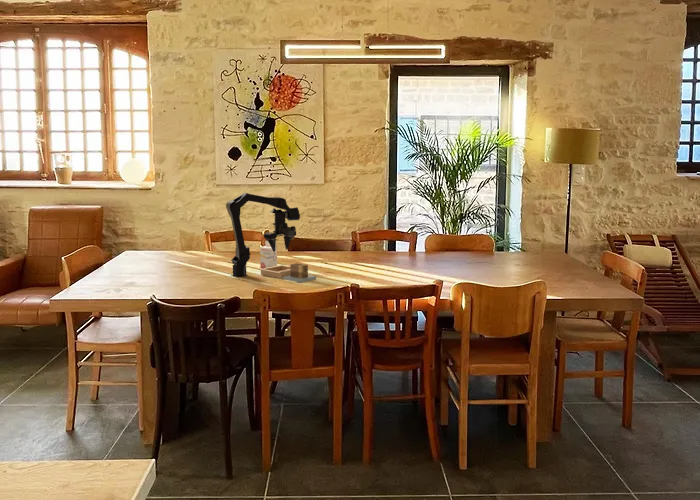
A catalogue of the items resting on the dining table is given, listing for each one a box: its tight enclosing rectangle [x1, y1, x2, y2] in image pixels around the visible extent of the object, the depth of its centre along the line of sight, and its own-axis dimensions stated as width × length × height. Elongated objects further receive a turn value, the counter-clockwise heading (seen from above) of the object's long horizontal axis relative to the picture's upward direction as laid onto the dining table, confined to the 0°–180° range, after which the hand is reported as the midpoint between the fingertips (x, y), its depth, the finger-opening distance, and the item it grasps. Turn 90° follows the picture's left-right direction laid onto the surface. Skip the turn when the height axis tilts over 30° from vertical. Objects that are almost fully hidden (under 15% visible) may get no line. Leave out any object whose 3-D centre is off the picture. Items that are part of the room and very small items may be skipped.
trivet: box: [282, 274, 317, 284], centre depth 381 cm, size 12×12×2 cm
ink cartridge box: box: [259, 240, 278, 269], centre depth 411 cm, size 9×5×15 cm, turn 58°
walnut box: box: [289, 262, 309, 278], centre depth 380 cm, size 5×8×6 cm, turn 49°
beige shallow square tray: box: [259, 264, 291, 279], centre depth 391 cm, size 16×15×4 cm
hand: (280, 250), depth 396 cm, fingers open, 9 cm apart
